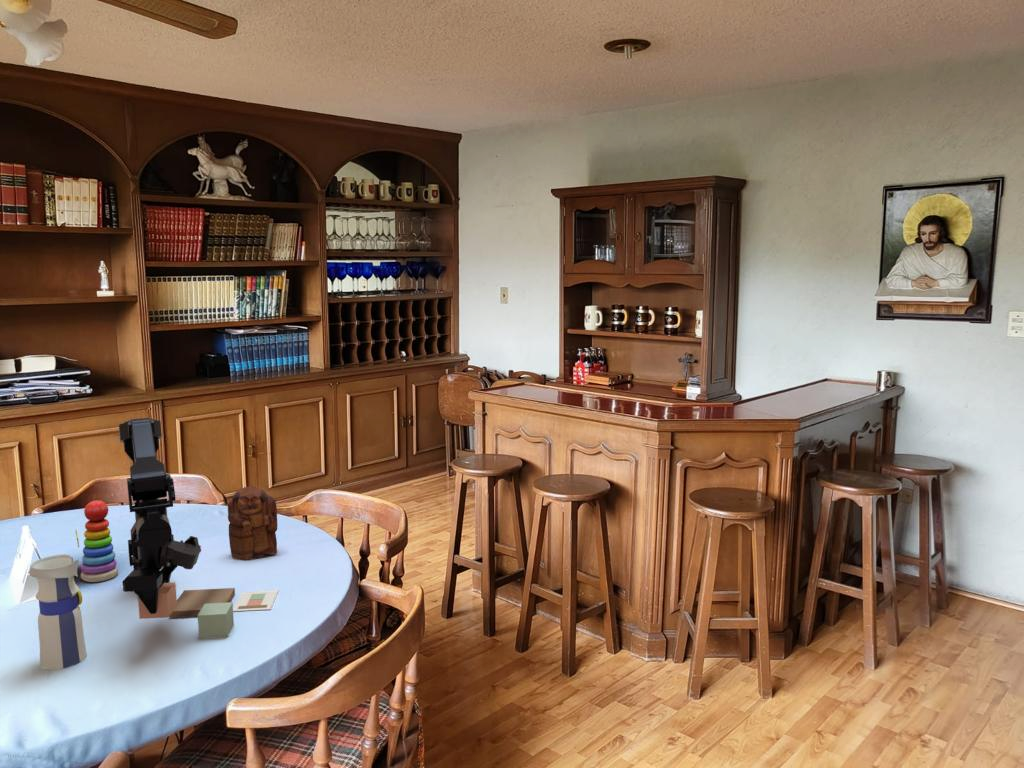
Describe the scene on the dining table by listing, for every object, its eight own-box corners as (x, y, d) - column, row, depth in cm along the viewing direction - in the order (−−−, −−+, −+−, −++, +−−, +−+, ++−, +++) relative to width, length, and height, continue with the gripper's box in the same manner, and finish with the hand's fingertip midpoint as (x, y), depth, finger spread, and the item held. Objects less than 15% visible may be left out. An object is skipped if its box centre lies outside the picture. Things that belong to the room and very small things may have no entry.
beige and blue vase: (77, 643, 155) (66, 521, 151) (96, 657, 150) (85, 530, 146) (31, 659, 149) (18, 532, 145) (49, 674, 143) (36, 543, 140)
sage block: (199, 639, 157) (197, 615, 156) (206, 626, 163) (204, 603, 162) (227, 637, 158) (226, 613, 157) (233, 625, 163) (232, 602, 162)
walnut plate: (169, 618, 166) (168, 611, 166) (184, 596, 177) (184, 590, 177) (223, 615, 167) (222, 608, 167) (235, 594, 178) (234, 587, 178)
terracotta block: (139, 618, 155) (137, 594, 154) (149, 606, 160) (147, 583, 160) (168, 617, 156) (166, 593, 155) (177, 605, 161) (175, 582, 160)
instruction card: (232, 611, 169) (232, 610, 169) (242, 592, 179) (242, 591, 179) (270, 609, 170) (270, 608, 170) (278, 591, 180) (278, 589, 180)
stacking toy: (103, 584, 184) (96, 507, 181) (73, 582, 186) (66, 505, 183) (125, 571, 192) (119, 497, 189) (97, 569, 193) (90, 495, 190)
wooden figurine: (231, 562, 197) (226, 493, 194) (229, 554, 203) (225, 486, 200) (280, 556, 202) (276, 488, 199) (277, 548, 207) (274, 481, 205)
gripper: (181, 547, 147) (186, 625, 150) (207, 515, 166) (211, 586, 168) (118, 549, 146) (125, 629, 148) (152, 518, 164) (157, 589, 167)
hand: (158, 607), depth 158 cm, fingers closed on terracotta block, 5 cm apart
